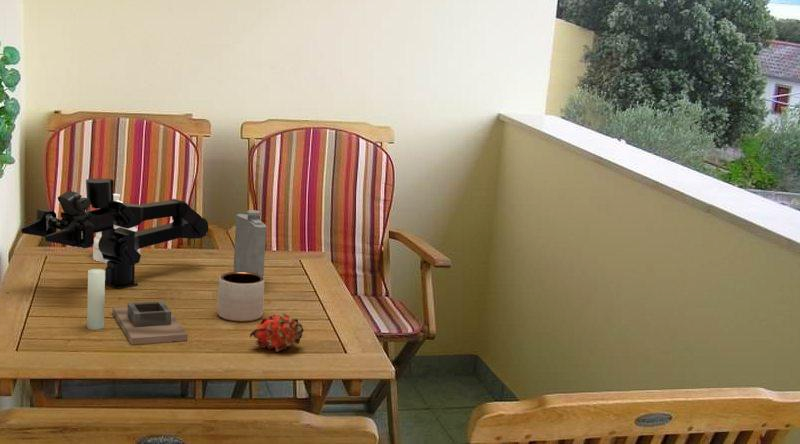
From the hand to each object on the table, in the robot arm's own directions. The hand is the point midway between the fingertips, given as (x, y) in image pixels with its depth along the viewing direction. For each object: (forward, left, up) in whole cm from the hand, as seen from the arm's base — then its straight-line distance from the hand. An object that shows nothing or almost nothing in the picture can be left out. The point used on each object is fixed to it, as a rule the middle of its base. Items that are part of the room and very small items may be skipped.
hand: (33, 234), depth 220 cm
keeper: (-11, +29, -17) cm, 36 cm away
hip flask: (-53, +16, -17) cm, 58 cm away
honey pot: (-39, -24, -17) cm, 49 cm away
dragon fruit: (-24, +57, -17) cm, 64 cm away
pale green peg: (-2, +23, -17) cm, 28 cm away
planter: (-33, +35, -17) cm, 51 cm away
